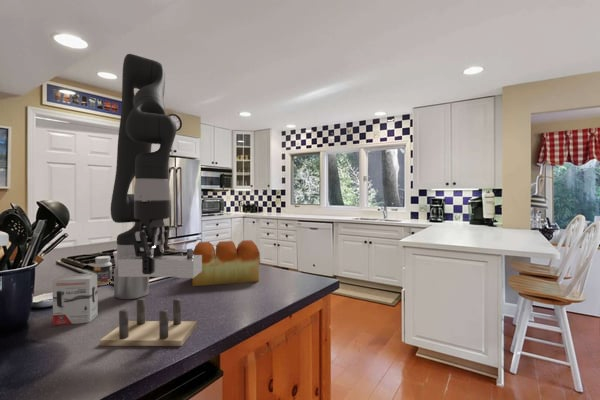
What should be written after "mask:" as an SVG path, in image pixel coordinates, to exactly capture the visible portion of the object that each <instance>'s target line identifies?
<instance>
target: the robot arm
mask: <svg viewBox="0 0 600 400" xmlns="http://www.w3.org/2000/svg"><path fill="white" fill-rule="evenodd" d="M121 78H122V81H121V84H122V85H121V86H122V88H121V110H120V121H119V127H118V137H117V138H118V139H117V150H116V151H117V153H116V166H115V167H116V168H115V169H116V170H115V177H114V184H113V189H112V194H111V195H112V196H111V202H110V216H111V220H112V221H113V223H117V224H124V223H127V224H128V223H134V225H133V226H132V227H131V228H130V229H128V230H126V231H124V232H121V233H119V234H118V235H117V237H116V251H117V267H116V266H115V267H114V269H113V298H117V299H121V300H132V299H140V298H143V297H145V296H147V295H148V294H150V277H118V259H120V258H123V257H126V256H136V257H141V258H142V273H143V274H152V273H153V256H163V254H164V253H165V250H167V248H168V243H169V237H170V229H171V228H170V227H171V226H170V225H165V221H164V220H166V219H169V218H170V217H171V208H170V207H171V203H170V202H171V201H170V199H171V198H170V197H171V195H170V194H171V190H170V182H169V166H170V165H169V161H170V155H171V150H172V147H173V144H174V141H175V138H176V134H177V124H176V121H175V120H174V119H173V117H172V116H171V115H168V114H166V109H165V103H164V97H165V96H164V95H165V87H166V86H165V85H166V71H165V67H164V66H163V64H162V63H161V62H159V61H157V60H154V59H151V58H150V59H149V58H146V57H145V56H144V57H143V56H139V55H137V54H134V53H133V54H132V53H128V54H126V55H125V56H124V59H123V63H122V77H121ZM134 89H137V91H136V93H135V90H134ZM152 145H159V148H158V149H157V150H155V151H152ZM134 178H135V179H134ZM132 181H134V187H133V193H129V189H130V186H131V184H132Z"/></svg>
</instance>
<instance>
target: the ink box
mask: <svg viewBox="0 0 600 400" xmlns="http://www.w3.org/2000/svg"><path fill="white" fill-rule="evenodd" d="M51 281H52V282H51V283H52V324H53V326H61V325H73V324H74V325H75V324H89V323H91V322H92V321H93V320H94V319H96V317H98V314H99V313H98V311H99V310H98V308H99V307H98V303H99V302H98V301H99V300H98V298H99V297H98V286H97V274H95V273H94V272H91V273H89V272H88V273H85V272H84V273H68V274H66V273H65V274H62V275H60V276H58V277H56V278H55V279H53V280H51Z"/></svg>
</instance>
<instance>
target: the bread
mask: <svg viewBox="0 0 600 400" xmlns="http://www.w3.org/2000/svg"><path fill="white" fill-rule="evenodd" d="M193 255H202V272H200V273H199V274H198V275H197V276H195V277H194V278H191V279H192V287H195V286H196V287H198V286H199V287H200V286H211V285H225V284H237V283H238V284H241V283H253V282H260V263H261V254H260V251H259V248H258V246H257V245H256V243H255V242H254V241H253V240H252V239H247V240H242V241H240V242H239V243H238V244H237V247H236V244H235V242H234V241H233V240H227V241H226V240H223V241H219V242H218V243H217V244H216V247H214V245H213V244H212V243H211V242H210V241H199V242H198V243H197V244H196V245H195V246H194V248H193Z"/></svg>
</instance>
